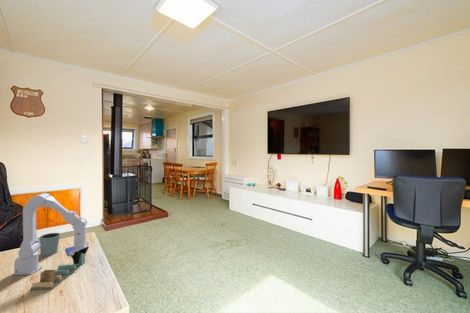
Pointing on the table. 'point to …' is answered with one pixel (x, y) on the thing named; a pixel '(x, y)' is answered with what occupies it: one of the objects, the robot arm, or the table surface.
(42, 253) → the grey-green bucket
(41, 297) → the table surface
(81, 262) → the teal plug
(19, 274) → the robot arm
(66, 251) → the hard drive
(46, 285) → the slot comb
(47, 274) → the walnut plug
